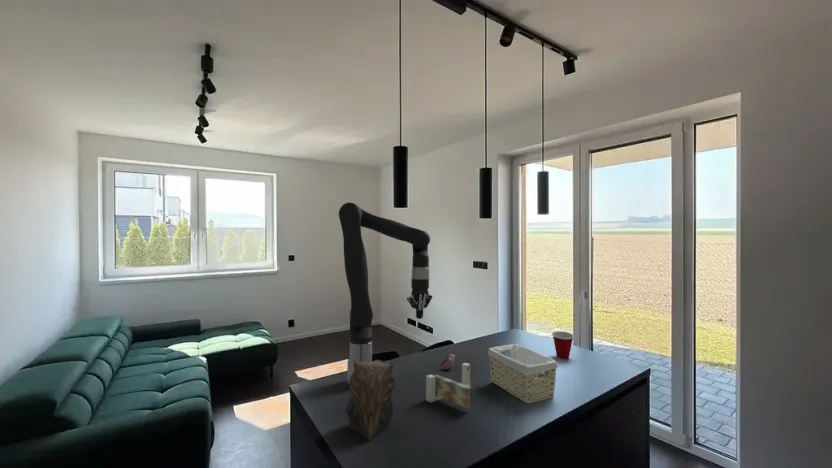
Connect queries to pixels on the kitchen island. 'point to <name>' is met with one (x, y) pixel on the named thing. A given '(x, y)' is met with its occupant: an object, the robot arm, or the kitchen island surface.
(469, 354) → the kitchen island surface
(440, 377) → the panel
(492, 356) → the storage basket
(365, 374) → the owl
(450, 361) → the video game controller
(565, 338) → the plastic cup
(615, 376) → the kitchen island surface
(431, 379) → the gate posts
